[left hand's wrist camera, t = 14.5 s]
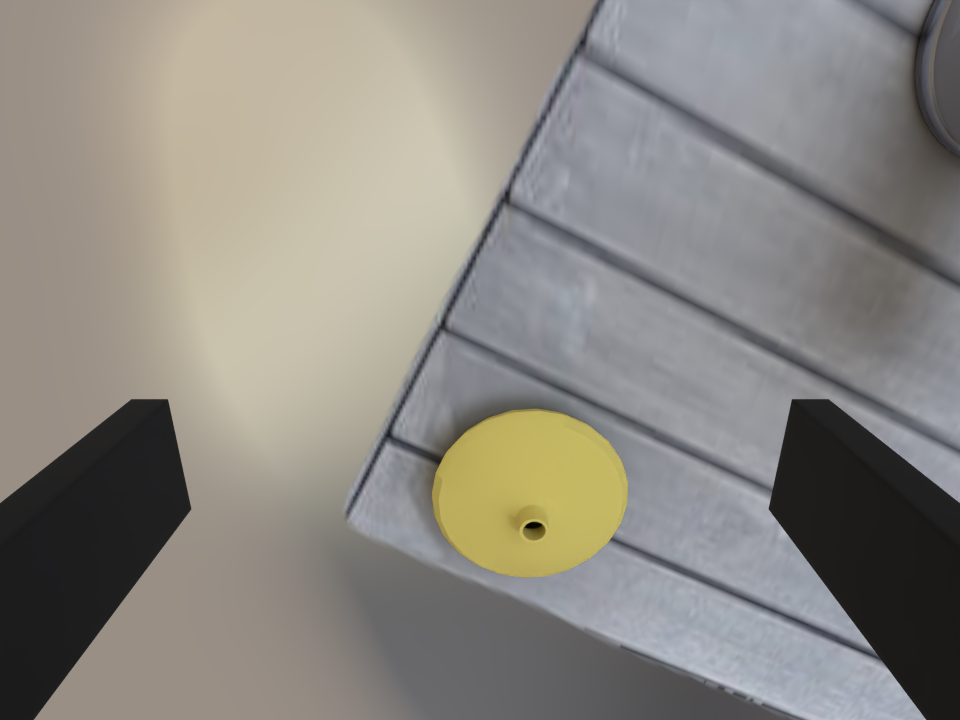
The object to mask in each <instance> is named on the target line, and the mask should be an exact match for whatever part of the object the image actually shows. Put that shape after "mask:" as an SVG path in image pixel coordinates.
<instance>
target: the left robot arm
mask: <svg viewBox="0 0 960 720" xmlns="http://www.w3.org/2000/svg"><path fill="white" fill-rule="evenodd" d="M915 83H916V93H917V98H918V103H919V106H920V109H921V112H922V115H923V117H924V120H925V122H926V124H927V126H928V127H929V129H930V130H931V132H932V133H933V135H934V136H935V137H936V138H937V140H938V141H939V142H940V143H941V144H942V145H944V146H945V147H946V148H947V149H948V150H950V151H951V152H953V153H954V154H956V155H958V156H960V0H935V2H934V4H933V5H932V8H931V10H930V12H929V15H928V17H927V19H926V22H925V25H924V28H923V31H922V34H921V38H920V42H919V46H918V52H917V57H916V68H915ZM190 510H191V505H190V501H189V496H188V491H187V487H186V482H185V477H184V473H183V468H182V463H181V459H180V454H179V449H178V444H177V440H176V435H175V431H174V426H173V421H172V416H171V412H170V407H169V402H168V399H131V400H130V401H129V402H128V403H126V404H125V405H124V406H123V407H121V408H120V409H119V410H117V411H116V412H115V413H114V414H112V415H111V416H110V417H109V418H107V419H106V420H105V421H104V422H102V423H101V424H100V425H98V426H97V427H96V428H95V429H93V430H92V431H91V432H90V433H88V434H87V435H86V436H85V437H83V438H82V439H81V440H80V441H78V442H77V443H76V444H74V445H73V446H72V447H71V448H69V449H68V450H67V451H66V452H64V453H63V454H62V455H61V456H59V457H58V458H57V459H55V460H54V461H53V462H52V463H50V464H49V465H48V466H47V467H45V468H44V469H43V470H42V471H40V472H39V473H38V474H37V475H35V476H34V477H33V478H32V479H30V480H29V481H28V482H26V483H25V484H24V485H23V486H21V487H20V488H19V489H18V490H16V491H15V492H14V493H13V494H11V495H10V496H9V497H7V498H6V499H5V500H4V501H2V502H1V503H0V720H34V719H35V717H36V716H37V715H38V713H39V712H40V711H41V709H42V708H43V707H44V705H45V704H46V703H47V701H48V700H49V699H50V697H51V696H52V695H53V693H54V692H55V691H56V689H57V688H58V687H59V685H60V684H61V683H62V681H63V680H64V679H65V677H66V676H67V675H68V673H69V672H70V671H71V669H72V668H73V667H74V665H75V664H76V662H77V661H78V660H79V658H80V657H81V656H82V654H83V653H84V652H85V650H86V649H87V648H88V646H89V645H90V644H91V642H92V641H93V640H94V638H95V637H96V636H97V634H98V633H99V632H100V630H101V629H102V628H103V626H104V625H105V624H106V622H107V621H108V620H109V618H110V617H111V616H112V614H113V613H114V612H115V610H116V609H117V608H118V606H119V605H120V604H121V602H122V601H123V600H124V598H125V597H126V596H127V594H128V593H129V592H130V590H131V589H132V588H133V586H134V585H135V584H136V582H137V581H138V580H139V578H140V577H141V576H142V574H143V573H144V572H145V570H146V569H147V568H148V566H149V565H150V564H151V562H152V561H153V560H154V558H155V557H156V556H157V554H158V553H159V552H160V550H161V549H162V548H163V546H164V545H165V544H166V542H167V541H168V540H169V538H170V537H171V536H172V534H173V533H174V531H175V530H176V529H177V528H178V526H179V525H180V523H181V522H182V521H183V520H184V518H185V517H186V516H187V514H188V513H189V512H190ZM769 510H770V512H771V513H772V514H773V516H774V517H775V518H776V520H777V521H778V522H779V524H780V525H781V526H782V528H783V529H784V530H785V532H786V533H787V534H788V536H789V537H790V538H791V540H792V541H793V542H794V544H795V545H796V546H797V548H798V549H799V550H800V552H801V553H802V554H803V556H804V557H805V558H806V560H807V561H808V562H809V564H810V565H811V566H812V568H813V569H814V570H815V572H816V573H817V574H818V576H819V577H820V578H821V580H822V581H823V582H824V584H825V585H826V586H827V588H828V589H829V590H830V592H831V593H832V594H833V596H834V597H835V598H836V600H837V601H838V602H839V604H840V605H841V606H842V608H843V609H844V610H845V612H846V613H847V614H848V616H849V617H850V618H851V620H852V621H853V622H854V624H855V625H856V626H857V628H858V629H859V630H860V632H861V633H862V634H863V636H864V637H865V638H866V640H867V641H868V642H869V644H870V645H871V646H872V648H873V649H874V650H875V652H876V653H877V654H878V656H879V657H880V658H881V660H882V661H883V662H884V664H885V665H886V667H887V668H888V669H889V671H890V672H891V673H892V675H893V676H894V677H895V679H896V680H897V681H898V683H899V684H900V685H901V687H902V688H903V689H904V691H905V692H906V693H907V695H908V696H909V697H910V699H911V700H912V701H913V703H914V704H915V705H916V707H917V708H918V709H919V711H920V712H921V713H922V715H923V716H924V717H925V719H926V720H960V503H959V502H958V501H956V500H955V499H954V498H953V497H951V496H950V495H949V494H947V493H946V492H945V491H944V490H942V489H941V488H940V487H939V486H937V485H936V484H935V483H934V482H932V481H931V480H930V479H929V478H927V477H926V476H925V475H923V474H922V473H921V472H920V471H918V470H917V469H916V468H915V467H913V466H912V465H911V464H910V463H908V462H907V461H906V460H905V459H903V458H902V457H901V456H899V455H898V454H897V453H896V452H894V451H893V450H892V449H891V448H889V447H888V446H887V445H886V444H884V443H883V442H882V441H881V440H879V439H878V438H877V437H875V436H874V435H873V434H872V433H870V432H869V431H868V430H867V429H865V428H864V427H863V426H862V425H860V424H859V423H858V422H856V421H855V420H854V419H853V418H851V417H850V416H849V415H848V414H846V413H845V412H844V411H843V410H841V409H840V408H839V407H838V406H836V405H835V404H834V403H832V402H831V401H830V400H829V399H792V402H791V407H790V412H789V416H788V421H787V426H786V430H785V435H784V440H783V444H782V449H781V454H780V459H779V463H778V468H777V473H776V477H775V482H774V487H773V491H772V496H771V501H770V505H769Z"/></svg>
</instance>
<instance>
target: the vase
mask: <svg viewBox="0 0 960 720" xmlns="http://www.w3.org/2000/svg"><path fill="white" fill-rule="evenodd" d="M627 500H628V480H627V477H626V474H625V471H624V467H623V464H622V461H621V459H620V458H619V456H618V455H617V453H616V452H615V450H614V449H613V447H612V446H611V444H610V443H609V442H608V441H607V440H606V439H605V438H604V437H602V436H601V435H600V434H599V433H598V432H596V431H595V430H594V429H593V428H591V427H590V426H589V425H587V424H586V423H584V422H582V421H580V420H577V419H575V418H573V417H571V416H568V415H566V414H564V413H561V412H555V411H549V410H543V409H537V408H536V409H522V410H511V411H508V412H504V413H501V414H498V415H495V416H492V417H488V418H486V419H485V420H483V421H482V422H480V423H478V424H477V425H475V426H473V427H472V428H470V429H468V430H467V431H466V432H465V433H464V434H463V435H462V436H461V437H460V438H459V439H458V440H457V441H456V442H455V443H454V444H453V446H452V447H451V448H450V449H449V450H448V451H447V452H446V454H445V456H444V458H443V460H442V462H441V463H440V465H439V467H438V469H437V471H436V474H435V479H434V485H433V490H432V501H433V509H434V516H435V518H436V520H437V522H438V525H439V527H440V529H441V531H442V533H443V535H444V537H445V538H446V539H447V540H448V541H449V542H450V544H451V545H452V546H453V547H454V548H455V549H456V551H457V552H459V553H460V554H461V555H463V556H464V557H466V558H467V559H469V560H470V561H472V562H473V563H475V564H476V565H478V566H481V567H483V568H486V569H489V570H491V571H494V572H496V573H499V574H503V575H510V576H516V577H523V578H524V577H540V576H548V575H552V574H556V573H559V572H563V571H566V570H569V569H571V568H573V567H575V566H577V565H578V564H580V563H582V562H584V561H586V560H588V559H589V558H591V557H592V556H593V555H594V554H595V553H597V552H598V551H599V550H600V549H601V548H602V547H603V546H605V545H606V544H607V543H608V542H609V540H610V539H611V537H612V536H613V534H614V533H615V531H616V530H617V529H618V527H619V526H620V524H621V521H622V518H623V515H624V512H625V509H626V506H627Z"/></svg>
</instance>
